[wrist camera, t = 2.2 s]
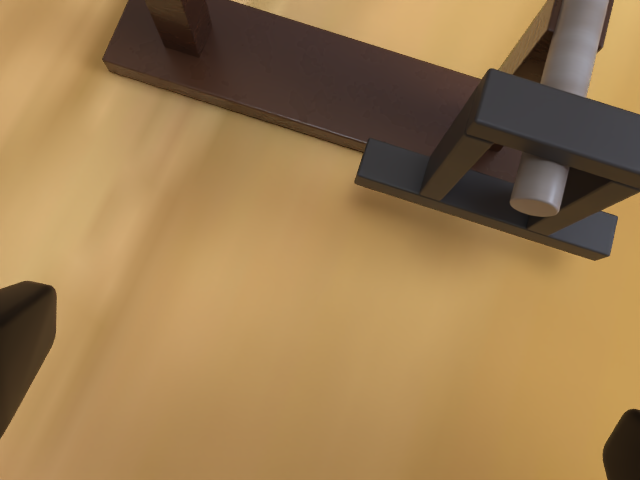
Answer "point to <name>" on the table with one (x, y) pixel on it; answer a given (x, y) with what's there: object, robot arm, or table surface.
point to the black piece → (530, 137)
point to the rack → (352, 78)
